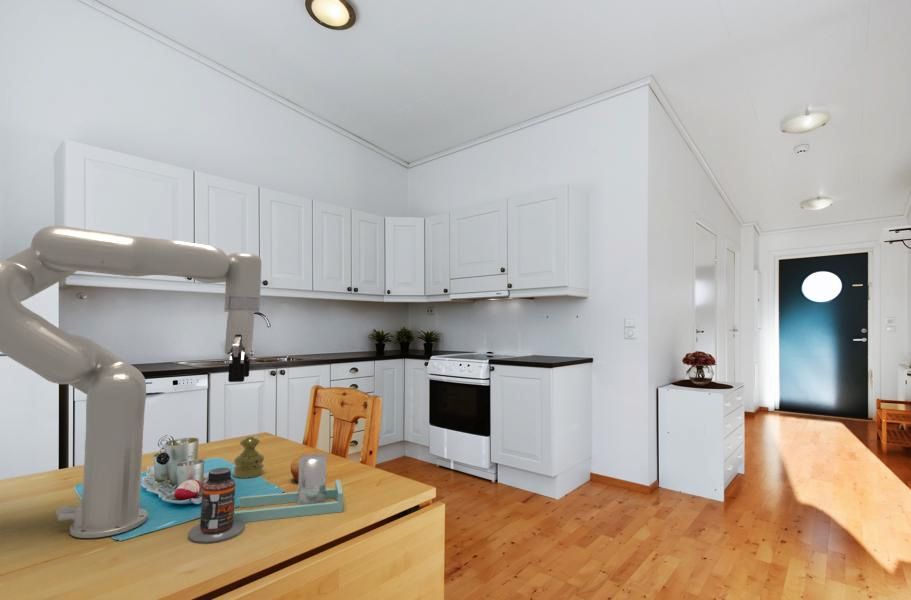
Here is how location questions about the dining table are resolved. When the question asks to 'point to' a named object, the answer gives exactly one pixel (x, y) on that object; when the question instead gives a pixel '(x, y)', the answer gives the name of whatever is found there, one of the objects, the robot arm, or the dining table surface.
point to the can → (312, 479)
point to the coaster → (202, 537)
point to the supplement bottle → (217, 501)
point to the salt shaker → (249, 460)
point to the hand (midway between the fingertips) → (239, 379)
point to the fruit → (297, 466)
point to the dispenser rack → (288, 510)
